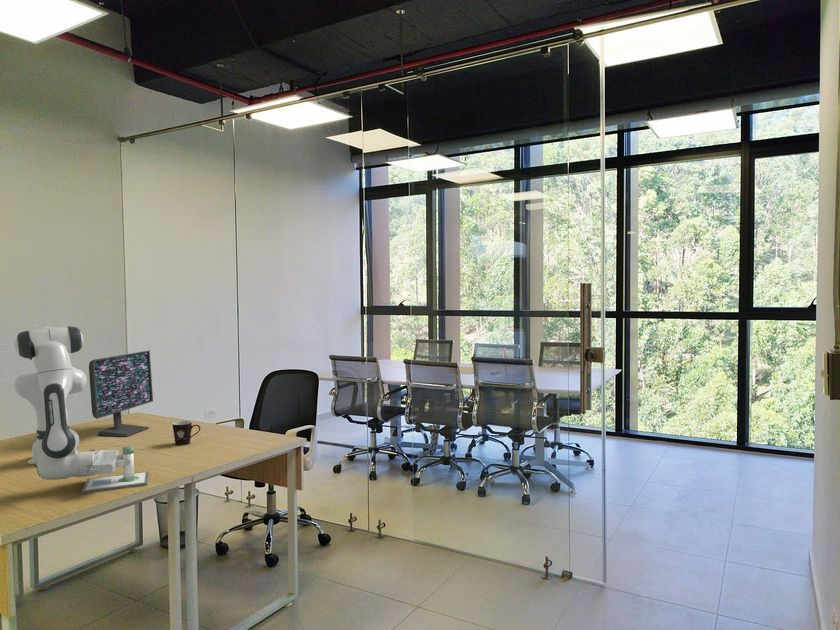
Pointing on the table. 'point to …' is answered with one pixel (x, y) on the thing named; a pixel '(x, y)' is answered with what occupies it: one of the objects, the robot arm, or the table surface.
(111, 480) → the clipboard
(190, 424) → the coffee mug
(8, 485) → the table surface
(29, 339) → the robot arm
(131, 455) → the marker
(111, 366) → the computer monitor
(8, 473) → the table surface
